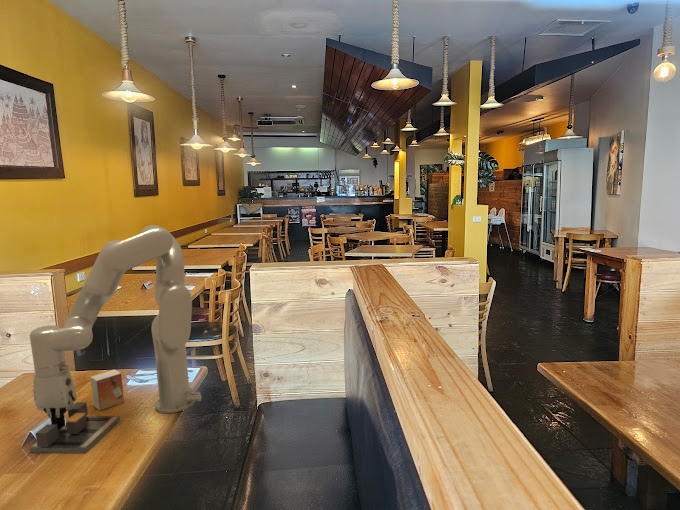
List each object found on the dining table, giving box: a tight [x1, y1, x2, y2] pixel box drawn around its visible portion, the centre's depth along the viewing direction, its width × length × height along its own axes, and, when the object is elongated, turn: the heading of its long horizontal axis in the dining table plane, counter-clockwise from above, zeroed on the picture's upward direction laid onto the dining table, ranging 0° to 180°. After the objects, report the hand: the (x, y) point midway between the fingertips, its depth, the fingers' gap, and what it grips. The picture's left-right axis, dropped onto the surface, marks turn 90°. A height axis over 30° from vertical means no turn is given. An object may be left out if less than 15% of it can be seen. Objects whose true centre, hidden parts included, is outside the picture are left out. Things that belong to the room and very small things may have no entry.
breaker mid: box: [65, 413, 87, 434], centre depth 128 cm, size 3×4×4 cm
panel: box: [29, 415, 121, 454], centre depth 129 cm, size 16×17×2 cm
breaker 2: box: [67, 401, 89, 418], centre depth 135 cm, size 3×4×4 cm
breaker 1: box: [35, 423, 59, 447], centre depth 122 cm, size 3×4×4 cm
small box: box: [90, 369, 125, 412], centre depth 147 cm, size 8×6×10 cm
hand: (58, 427), depth 129 cm, fingers closed
